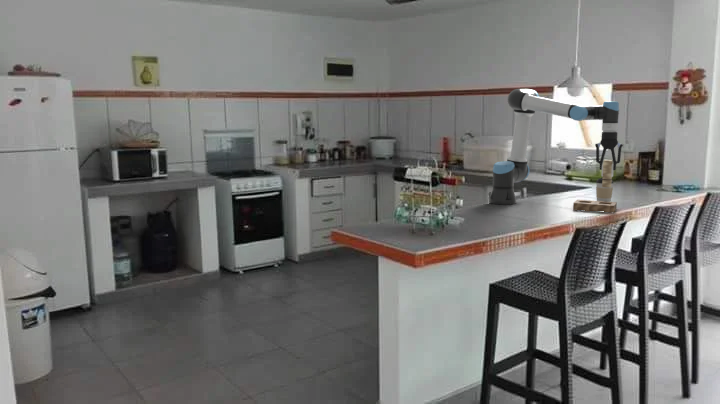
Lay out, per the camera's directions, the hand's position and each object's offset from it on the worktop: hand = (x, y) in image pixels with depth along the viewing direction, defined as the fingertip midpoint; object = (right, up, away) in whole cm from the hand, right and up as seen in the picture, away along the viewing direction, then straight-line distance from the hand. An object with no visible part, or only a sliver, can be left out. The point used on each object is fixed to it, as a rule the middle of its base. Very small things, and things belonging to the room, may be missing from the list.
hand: (607, 176), depth 305 cm
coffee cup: (+7, -15, +21) cm, 27 cm away
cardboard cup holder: (-4, -18, +6) cm, 19 cm away
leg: (0, -6, +1) cm, 6 cm away
